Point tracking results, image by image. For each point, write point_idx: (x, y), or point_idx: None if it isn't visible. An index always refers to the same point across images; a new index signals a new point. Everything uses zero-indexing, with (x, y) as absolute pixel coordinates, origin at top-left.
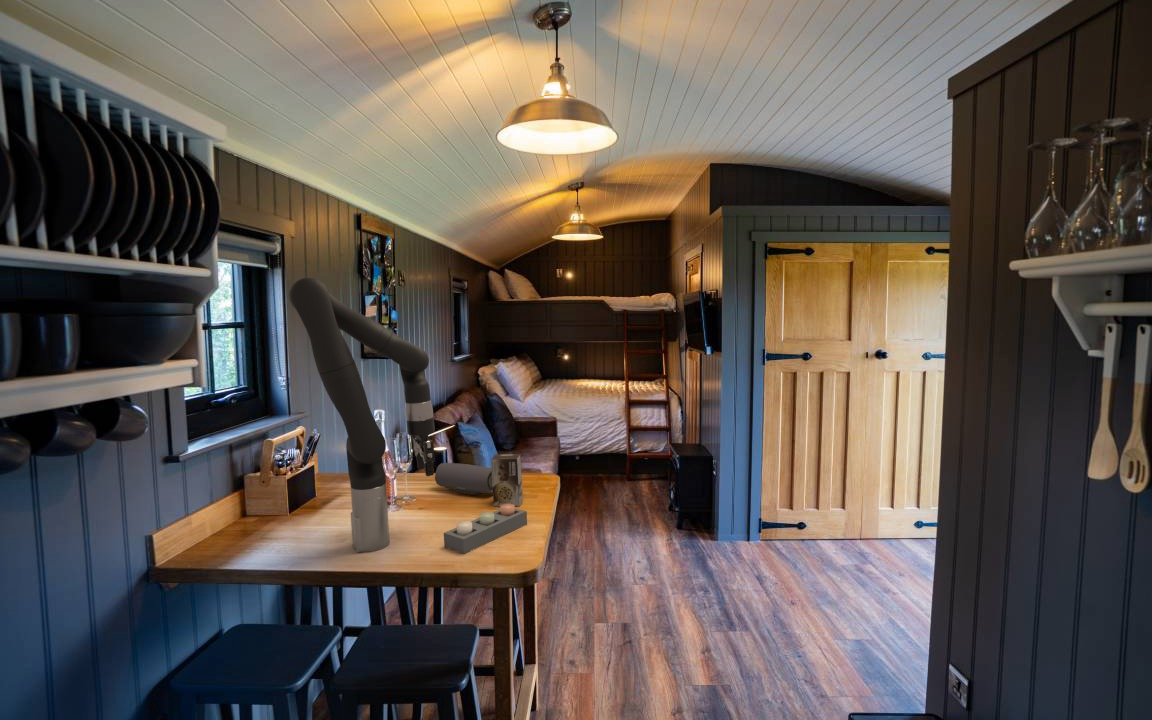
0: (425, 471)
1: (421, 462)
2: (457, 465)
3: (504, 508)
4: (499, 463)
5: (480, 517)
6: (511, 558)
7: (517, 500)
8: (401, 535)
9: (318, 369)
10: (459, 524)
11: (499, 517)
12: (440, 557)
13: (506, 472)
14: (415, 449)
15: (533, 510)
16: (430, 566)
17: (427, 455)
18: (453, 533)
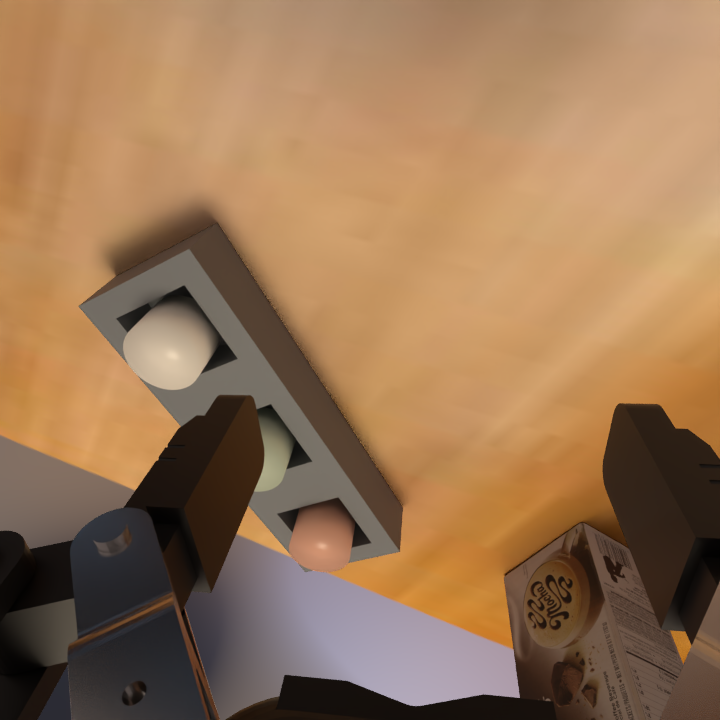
0: (209, 424)
1: (640, 501)
2: None
3: (296, 536)
4: None
5: None
6: (39, 395)
7: (510, 594)
8: (507, 32)
9: None
10: (163, 338)
11: (284, 491)
12: (105, 175)
13: (564, 711)
14: (663, 718)
15: (432, 585)
16: (13, 105)
17: (199, 668)
18: (165, 288)
